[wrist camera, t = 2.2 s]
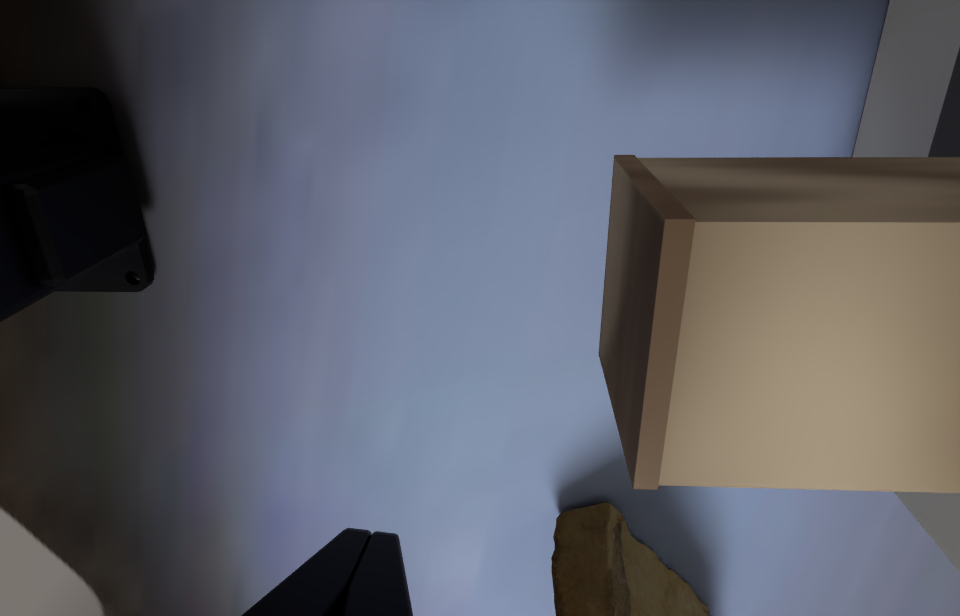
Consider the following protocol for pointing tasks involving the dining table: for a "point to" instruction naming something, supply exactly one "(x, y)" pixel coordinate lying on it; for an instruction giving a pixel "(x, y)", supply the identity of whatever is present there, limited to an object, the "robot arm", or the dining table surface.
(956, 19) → the off-white upright box
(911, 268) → the peg
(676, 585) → the rock
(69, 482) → the dining table surface
